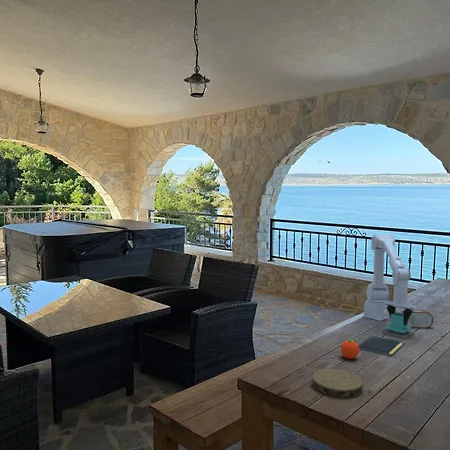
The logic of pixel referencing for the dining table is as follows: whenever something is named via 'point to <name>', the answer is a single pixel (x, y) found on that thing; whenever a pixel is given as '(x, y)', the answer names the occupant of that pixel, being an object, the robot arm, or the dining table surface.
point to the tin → (420, 319)
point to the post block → (398, 334)
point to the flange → (398, 323)
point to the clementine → (350, 349)
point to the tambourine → (337, 383)
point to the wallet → (381, 346)
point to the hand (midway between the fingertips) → (398, 323)
